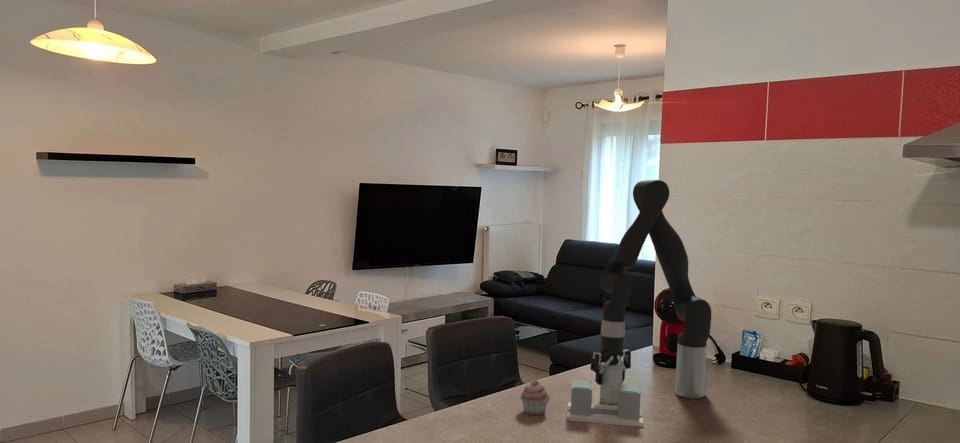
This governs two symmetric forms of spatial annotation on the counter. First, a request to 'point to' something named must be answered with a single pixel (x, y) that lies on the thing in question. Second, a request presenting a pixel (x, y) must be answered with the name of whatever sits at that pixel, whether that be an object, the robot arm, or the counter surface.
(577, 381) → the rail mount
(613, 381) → the skincare box
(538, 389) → the cupcake
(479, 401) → the counter surface
